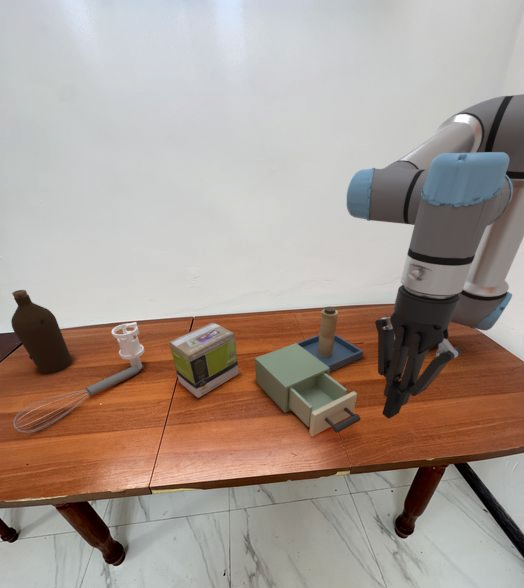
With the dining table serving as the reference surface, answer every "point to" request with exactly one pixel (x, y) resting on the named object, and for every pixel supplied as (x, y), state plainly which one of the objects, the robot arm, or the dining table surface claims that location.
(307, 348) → the tray
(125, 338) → the strainer
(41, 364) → the olive oil
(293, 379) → the cabinet
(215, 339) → the tea box
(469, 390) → the dining table surface
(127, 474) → the dining table surface
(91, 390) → the kitchen whisk
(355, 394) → the drawer
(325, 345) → the pepper mill
